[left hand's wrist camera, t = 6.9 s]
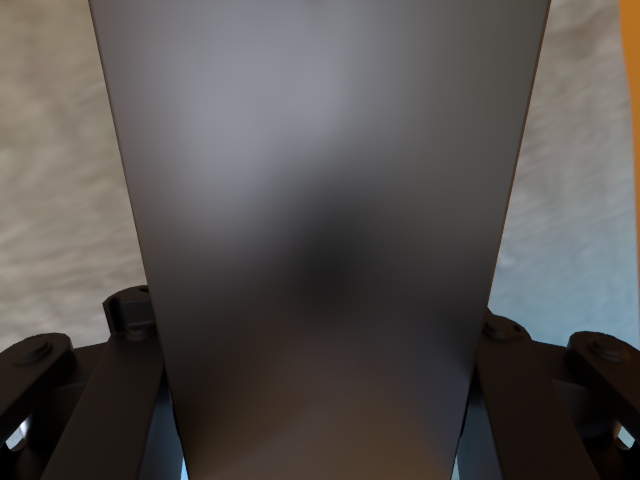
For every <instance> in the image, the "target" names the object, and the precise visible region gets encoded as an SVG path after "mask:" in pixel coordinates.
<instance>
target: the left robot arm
mask: <svg viewBox="0 0 640 480" xmlns="http://www.w3.org/2000/svg"><path fill="white" fill-rule="evenodd" d="M102 304H103V308H104V311H105V315H106V319H107V322H108V326H109V330H110V334H111V335H110V338H109V340H108V342H104V343H100V344H95V345H90V346H85V347H80V348H75V349H73V346H72V343H71V339H70V337H68V336H67V335H66V334H62V333H46V334H39V335H36V336H31V337H28V338H26V339H24V340H22V341H20V342H18V343H16V344H13V345H12V346H10V347H9V348H7V349H6V350H4V351H3V352H1V353H0V480H181V472H182V463H183V451H182V447H181V442H180V437H179V432H178V427H177V423H176V418H175V413H174V408H173V404H172V399H171V394H170V389H169V384H168V380H167V375H166V370H165V365H164V361H163V356H162V351H161V346H160V341H159V337H158V332H157V327H156V322H155V318H154V313H153V308H152V303H151V298H150V294H149V289H148V285H140V286H135V287H130V288H127V289H124V290H121V291H119V292H117V293H115V294H113V295H111V296H110V297H108V298H107V299H106V300H105V301H104V302H103V303H102ZM622 426H623V427H624V428H625V429H626V430H627V432H628V433H629V434H630V435H631V436H632V437H633V438H634V439H635V441H634V443H633V445H632V447H631V448H629V447H627V446H626V445H625V444H624V443H623V442H622V441H621V440H620V438H619V437H618V434H619V431H620V429H621V427H622ZM17 428H19V430H20V432H21V435H22V437H23V438H22V439H21V440H20V441H19V443H18V444H17V445H16V446H14V447H13V448H12V449H11V450H10V449H9V448H8V446H7V444H6V440H7V439H8V438H9V437H10V436H11V435H12V434H13V433H14V432H15V431H16V430H17ZM457 462H458V471H459V479H460V480H640V351H639V350H637V349H636V348H634V347H633V346H631V345H630V344H628V343H626V342H624V341H622V340H620V339H617V338H616V337H614V336H611V335H608V334H605V333H600V332H591V331H581V332H575V333H574V334H572V335H571V336H570V339H569V342H568V345H567V347H563V346H558V345H553V344H548V343H542V342H538V341H534V340H532V339H531V337H530V335H529V333H528V332H527V331H526V330H525V329H524V327H522V326H521V325H519V324H518V323H516V322H515V321H513V320H510V319H508V318H505V317H502V316H498V315H493V313H492V312H491V311H490V310H489V308H488V307H487V310H486V315H485V320H484V325H483V329H482V334H481V339H480V344H479V349H478V353H477V358H476V363H475V368H474V373H473V377H472V382H471V387H470V392H469V396H468V401H467V406H466V411H465V416H464V420H463V425H462V430H461V435H460V440H459V444H458V449H457Z"/></svg>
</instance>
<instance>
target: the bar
mask: <svg viewBox="0 0 640 480" xmlns="http://www.w3.org/2000/svg"><path fill="white" fill-rule="evenodd" d="M88 2H89V7H90V12H91V16H92V21H93V26H94V31H95V36H96V40H97V45H98V50H99V55H100V59H101V64H102V69H103V74H104V79H105V83H106V88H107V93H108V98H109V102H110V107H111V112H112V117H113V122H114V126H115V131H116V136H117V141H118V145H119V150H120V155H121V160H122V165H123V169H124V174H125V179H126V184H127V188H128V193H129V198H130V203H131V208H132V212H133V217H134V222H135V227H136V231H137V236H138V241H139V246H140V251H141V255H142V260H143V265H144V270H145V275H146V279H147V284H148V289H149V294H150V298H151V303H152V308H153V313H154V318H155V322H156V327H157V332H158V337H159V341H160V346H161V351H162V356H163V361H164V365H165V370H166V375H167V380H168V384H169V389H170V394H171V399H172V404H173V408H174V413H175V418H176V423H177V427H178V432H179V437H180V442H181V447H182V451H183V456H184V461H185V466H186V471H187V475H188V480H451V478H452V473H453V468H454V464H455V459H456V454H457V449H458V444H459V440H460V435H461V430H462V425H463V420H464V416H465V411H466V406H467V401H468V396H469V392H470V387H471V382H472V377H473V373H474V368H475V363H476V358H477V353H478V349H479V344H480V339H481V334H482V329H483V325H484V320H485V315H486V310H487V305H488V301H489V296H490V291H491V286H492V282H493V277H494V272H495V267H496V262H497V258H498V253H499V248H500V243H501V238H502V234H503V229H504V224H505V219H506V214H507V210H508V205H509V200H510V195H511V191H512V186H513V181H514V176H515V171H516V167H517V162H518V157H519V152H520V147H521V143H522V138H523V133H524V128H525V123H526V119H527V114H528V109H529V104H530V100H531V95H532V90H533V85H534V80H535V76H536V71H537V66H538V61H539V56H540V52H541V47H542V42H543V37H544V32H545V28H546V23H547V18H548V13H549V9H550V4H551V0H88Z"/></svg>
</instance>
